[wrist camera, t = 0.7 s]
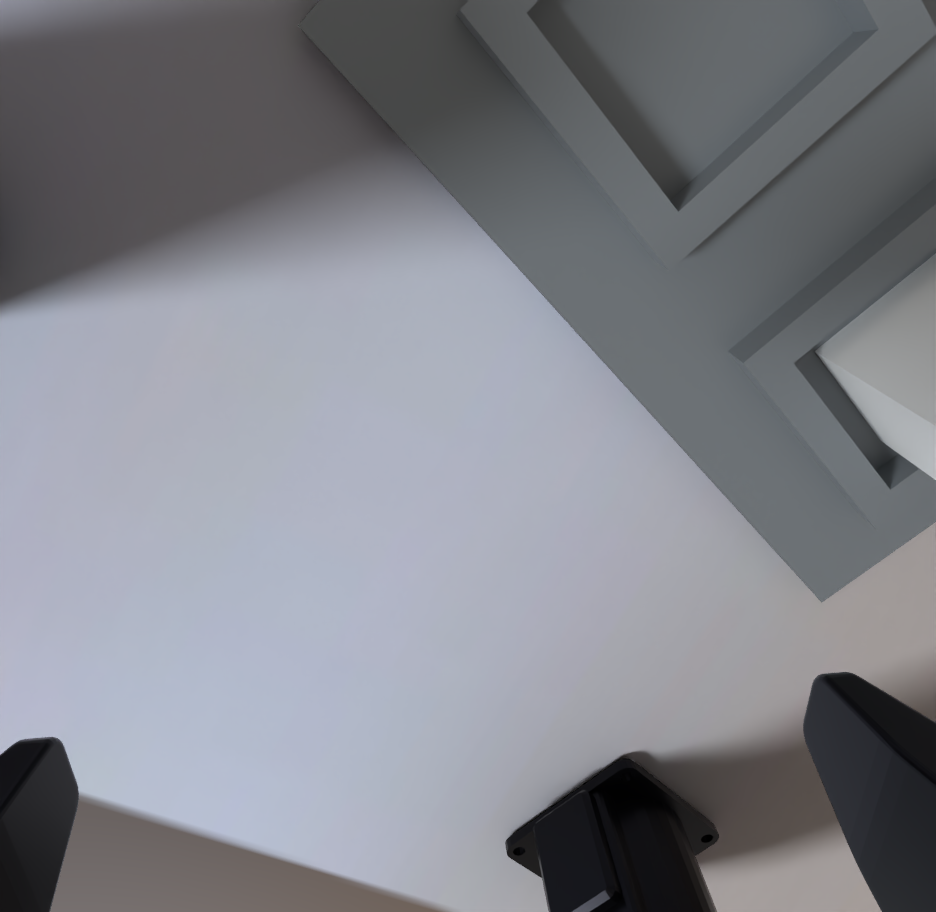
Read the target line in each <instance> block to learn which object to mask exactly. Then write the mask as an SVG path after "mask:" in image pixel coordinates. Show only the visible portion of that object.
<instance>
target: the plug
mask: <svg viewBox="0 0 936 912" xmlns="http://www.w3.org/2000/svg"><path fill="white" fill-rule="evenodd" d="M815 352H816V354H817V355H818V356H819V358H820V359H821V361H822V362H823V363H824V365H825V366H826V367H827V369H828V370H829V371H830V373H831V374H832V375H833V377H834V378H835V379H836V381H837V382H838V383H839V385H840V386H841V388H842V389H843V390H844V392H845V393H846V394H847V396H848V397H849V398H850V400H851V401H852V402H853V404H854V405H855V406H856V408H857V409H858V411H859V412H860V413H861V415H862V416H863V417H864V419H865V420H866V421H867V423H868V424H869V425H870V427H871V428H872V429H873V431H874V432H875V433H876V435H877V436H878V438H879V439H880V440H881V441H882V442H883V443H885V444H886V445H887V446H889V447H890V448H891V449H893V450H894V451H896V452H897V453H898V454H900V455H901V456H903V457H904V458H905V459H907V460H908V461H910V462H911V463H912V464H914V465H915V466H917V467H918V468H919V469H921V470H922V471H924V472H925V473H926V474H928V475H929V476H931V477H932V478H933V479H935V480H936V254H934V255H933V256H932V257H931V258H929V259H928V260H927V261H926V262H924V263H923V264H922V265H921V266H920V267H918V268H917V269H916V270H915V271H913V272H912V273H911V274H910V275H908V276H907V277H906V278H905V279H903V280H902V281H901V282H900V283H898V284H897V285H896V286H895V287H894V288H892V289H891V290H890V291H889V292H887V293H886V294H885V295H884V296H882V297H881V298H880V299H879V300H877V301H876V302H875V303H874V304H872V305H871V306H870V307H869V308H868V309H866V310H865V311H864V312H863V313H861V314H860V315H859V316H858V317H856V318H855V319H854V320H853V321H851V322H850V323H849V324H848V325H846V326H845V327H844V328H843V329H842V330H840V331H839V332H838V333H837V334H835V335H834V336H833V337H832V338H830V339H829V340H828V341H827V342H825V343H824V344H823V345H822V346H820V347H819V348H818V349H817V350H816V351H815Z"/></svg>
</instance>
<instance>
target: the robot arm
mask: <svg viewBox="0 0 936 912" xmlns="http://www.w3.org/2000/svg"><path fill="white" fill-rule="evenodd" d="M803 731H804V737H805V741H806V744H807V747H808V749H809V752H810V754H811V756H812V759H813V761H814V764H815V766H816V768H817V771H818V773H819V775H820V778H821V780H822V783H823V785H824V787H825V790H826V792H827V795H828V797H829V799H830V802H831V804H832V807H833V809H834V811H835V814H836V816H837V819H838V821H839V823H840V826H841V828H842V831H843V833H844V835H845V838H846V840H847V843H848V845H849V847H850V849H851V852H852V854H853V856H854V858H855V860H856V863H857V865H858V867H859V869H860V871H861V873H862V875H863V877H864V879H865V881H866V883H867V885H868V886H869V888H870V890H871V892H872V894H873V896H874V898H875V900H876V901H877V903H878V905H879V907H880V909H881V911H882V912H936V722H934V721H932V720H931V719H929V718H927V717H926V716H924V715H922V714H921V713H919V712H917V711H916V710H914V709H912V708H911V707H909V706H907V705H906V704H904V703H902V702H901V701H899V700H897V699H896V698H894V697H892V696H891V695H889V694H887V693H886V692H884V691H882V690H881V689H879V688H877V687H876V686H874V685H872V684H871V683H869V682H867V681H866V680H864V679H862V678H860V677H859V676H857V675H855V674H853V673H849V672H840V673H828V674H821V675H818V676H817V677H816V678H815V680H814V681H813V684H812V688H811V693H810V697H809V701H808V705H807V710H806V714H805V718H804V724H803ZM78 800H79V792H78V786H77V782H76V779H75V777H74V774H73V771H72V768H71V765H70V762H69V759H68V757H67V754H66V751H65V748H64V746H63V744H62V742H61V741H60V740H59V739H58V738H54V737H45V738H33V739H24V740H20V741H18V742H16V743H15V744H13V745H12V746H11V747H9V748H8V749H7V750H6V751H4V752H3V753H2V754H1V755H0V912H50V909H51V906H52V902H53V898H54V894H55V891H56V887H57V883H58V879H59V875H60V872H61V868H62V864H63V861H64V857H65V852H66V849H67V845H68V841H69V838H70V834H71V830H72V826H73V823H74V819H75V815H76V811H77V807H78ZM718 838H719V834H718V832H717V830H716V827H715V826H714V824H713V823H712V822H710V821H709V820H708V819H707V818H705V817H704V816H703V815H701V814H700V813H699V812H698V811H696V810H695V809H694V808H692V807H691V806H690V805H689V804H687V803H686V802H685V801H684V800H682V799H681V798H680V797H678V796H677V795H676V794H675V793H673V792H672V791H671V790H670V789H668V788H667V787H666V786H664V785H663V784H662V783H661V782H659V781H658V780H657V779H655V778H654V777H653V776H652V775H650V774H649V773H648V772H647V771H645V770H644V769H643V768H641V767H640V766H639V765H638V764H636V763H635V762H634V761H632V760H629V759H623V760H619V761H617V762H615V763H614V764H613V765H611V766H610V767H608V768H607V769H606V770H604V771H603V772H601V773H600V774H598V775H597V776H596V777H594V778H593V779H591V780H590V781H588V782H587V783H586V784H584V785H583V786H581V787H580V788H578V789H577V790H576V791H574V792H573V793H571V794H570V795H568V796H567V797H566V798H564V799H563V800H561V801H560V802H559V803H557V804H556V805H554V806H553V807H551V808H550V809H549V810H547V811H546V812H544V813H543V814H541V815H540V816H539V817H537V818H536V819H534V820H533V821H531V822H530V823H529V824H527V825H526V826H524V827H523V828H521V829H520V830H519V831H517V832H516V833H514V834H513V835H512V836H510V837H509V838H508V839H507V840H506V843H505V844H506V850H507V855H508V856H509V857H510V858H511V859H513V860H514V861H516V862H517V863H519V864H521V865H522V866H524V867H525V868H527V869H528V870H530V871H532V872H533V873H535V874H536V875H538V876H539V877H541V878H542V880H543V885H544V890H545V895H546V900H547V905H548V911H549V912H717V910H716V908H715V905H714V903H713V900H712V898H711V895H710V893H709V890H708V888H707V885H706V882H705V880H704V877H703V875H702V872H701V870H700V867H699V865H698V862H697V860H696V857H695V856H696V855H697V854H699V853H700V852H702V851H703V850H705V849H707V848H708V847H710V846H711V845H713V844H714V843H715V842H717V840H718Z"/></svg>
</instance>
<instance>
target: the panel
mask: <svg viewBox="0 0 936 912" xmlns="http://www.w3.org/2000/svg"><path fill="white" fill-rule="evenodd" d="M298 26H299V27H300V28H301V30H302V31H303V32H304V33H305V34H306V35H307V36H308V37H309V38H310V39H311V41H312V42H313V43H314V44H315V45H316V46H317V47H318V48H319V49H320V50H321V52H322V53H323V54H324V55H325V56H326V57H327V58H328V59H329V60H330V61H331V63H332V64H333V65H334V66H335V67H336V68H337V69H338V70H339V71H340V72H341V74H342V75H343V76H344V77H345V78H346V79H347V80H348V81H349V82H350V84H351V85H352V86H353V87H354V88H355V89H356V90H357V91H358V92H359V93H360V95H361V96H362V97H363V98H364V99H365V100H366V101H367V102H368V103H369V104H370V106H371V107H372V108H373V109H374V110H375V111H376V112H377V113H378V114H379V115H380V117H381V118H382V119H383V120H384V121H385V122H386V123H387V124H388V125H389V126H390V128H391V129H392V130H393V131H394V132H395V133H396V134H397V135H398V136H399V137H400V139H401V140H402V141H403V142H404V143H405V144H406V145H407V146H408V147H409V148H410V150H411V151H412V152H413V153H414V154H415V155H416V156H417V157H418V158H419V159H420V161H421V162H422V163H423V164H424V165H425V166H426V167H427V168H428V169H429V170H430V172H431V173H432V174H433V175H434V176H435V177H436V178H437V179H438V180H439V182H440V183H441V184H442V185H443V186H444V187H445V188H446V189H447V190H448V191H449V193H450V194H451V195H452V196H453V197H454V198H455V199H456V200H457V201H458V202H459V204H460V205H461V206H462V207H463V208H464V209H465V210H466V211H467V212H468V213H469V215H470V216H471V217H472V218H473V219H474V220H475V221H476V222H477V223H478V224H479V226H480V227H481V228H482V229H483V230H484V231H485V232H486V233H487V234H488V235H489V237H490V238H491V239H492V240H493V241H494V242H495V243H496V244H497V245H498V246H499V248H500V249H501V250H502V251H503V252H504V253H505V254H506V255H507V256H508V257H509V259H510V260H511V261H512V262H513V263H514V264H515V265H516V266H517V267H518V268H519V270H520V271H521V272H522V273H523V274H524V275H525V276H526V277H527V278H528V280H529V281H530V282H531V283H532V284H533V285H534V286H535V287H536V288H537V289H538V291H539V292H540V293H541V294H542V295H543V296H544V297H545V298H546V299H547V300H548V302H549V303H550V304H551V305H552V306H553V307H554V308H555V309H556V310H557V311H558V313H559V314H560V315H561V316H562V317H563V318H564V319H565V320H566V321H567V322H568V324H569V325H570V326H571V327H572V328H573V329H574V330H575V331H576V332H577V333H578V335H579V336H580V337H581V338H582V339H583V340H584V341H585V342H586V343H587V344H588V346H589V347H590V348H591V349H592V350H593V351H594V352H595V353H596V354H597V355H598V357H599V358H600V359H601V360H602V361H603V362H604V363H605V364H606V365H607V366H608V368H609V369H610V370H611V371H612V372H613V373H614V374H615V375H616V376H617V378H618V379H619V380H620V381H621V382H622V383H623V384H624V385H625V386H626V387H627V389H628V390H629V391H630V392H631V393H632V394H633V395H634V396H635V397H636V398H637V400H638V401H639V402H640V403H641V404H642V405H643V406H644V407H645V408H646V409H647V411H648V412H649V413H650V414H651V415H652V416H653V417H654V418H655V419H656V420H657V422H658V423H659V424H660V425H661V426H662V427H663V428H664V429H665V430H666V431H667V433H668V434H669V435H670V436H671V437H672V438H673V439H674V440H675V441H676V442H677V444H678V445H679V446H680V447H681V448H682V449H683V450H684V451H685V452H686V453H687V455H688V456H689V457H690V458H691V459H692V460H693V461H694V462H695V463H696V464H697V466H698V467H699V468H700V469H701V470H702V471H703V472H704V473H705V474H706V476H707V477H708V478H709V479H710V480H711V481H712V482H713V483H714V484H715V485H716V487H717V488H718V489H719V490H720V491H721V492H722V493H723V494H724V495H725V496H726V498H727V499H728V500H729V501H730V502H731V503H732V504H733V505H734V506H735V507H736V509H737V510H738V511H739V512H740V513H741V514H742V515H743V516H744V517H745V518H746V520H747V521H748V522H749V523H750V524H751V525H752V526H753V527H754V528H755V529H756V531H757V532H758V533H759V534H760V535H761V536H762V537H763V538H764V539H765V540H766V542H767V543H768V544H769V545H770V546H771V547H772V548H773V549H774V550H775V551H776V553H777V554H778V555H779V556H780V557H781V558H782V559H783V560H784V561H785V562H786V564H787V565H788V566H789V567H790V568H791V569H792V570H793V571H794V572H795V574H796V575H797V576H798V577H799V578H800V579H801V580H802V581H803V582H804V583H805V585H806V586H807V587H808V588H809V589H810V590H811V591H812V592H813V593H814V594H815V596H816V597H817V598H818V599H819V600H820V601H821V602H823V601H825V600H826V599H827V598H829V597H830V596H832V595H833V594H834V593H836V592H837V591H839V590H840V589H841V588H843V587H844V586H846V585H847V584H849V583H850V582H851V581H853V580H854V579H856V578H857V577H858V576H860V575H861V574H863V573H864V572H865V571H867V570H868V569H870V568H871V567H873V566H874V565H875V564H877V563H878V562H880V561H881V560H882V559H884V558H885V557H887V556H888V555H889V554H891V553H892V552H894V551H895V550H897V549H898V548H899V547H901V546H902V545H904V544H905V543H906V542H908V541H909V540H911V539H912V538H913V537H915V536H916V535H918V534H919V533H921V532H922V531H923V530H925V529H926V528H928V527H929V526H930V525H932V524H933V523H935V522H936V480H935V479H933V478H932V477H931V476H929V475H928V474H926V473H925V472H924V471H922V470H921V469H919V468H918V467H917V466H915V465H914V464H912V463H911V462H910V461H908V460H907V459H905V458H904V457H903V456H901V455H900V454H898V453H897V452H896V451H894V450H893V449H891V448H890V447H889V446H887V445H886V444H885V443H883V442H882V441H881V440H880V439H879V438H878V436H877V435H876V433H875V432H874V431H873V429H872V428H871V427H870V425H869V424H868V423H867V421H866V420H865V419H864V417H863V416H862V415H861V413H860V412H859V411H858V409H857V408H856V406H855V405H854V404H853V402H852V401H851V400H850V398H849V397H848V396H847V394H846V393H845V392H844V390H843V389H842V388H841V386H840V385H839V383H838V382H837V381H836V379H835V378H834V377H833V375H832V374H831V373H830V371H829V370H828V369H827V367H826V366H825V365H824V363H823V362H822V361H821V359H820V358H819V356H818V355H817V354H816V352H815V351H816V350H817V349H818V348H819V347H820V346H822V345H823V344H824V343H825V342H827V341H828V340H829V339H830V338H832V337H833V336H834V335H835V334H837V333H838V332H839V331H840V330H842V329H843V328H844V327H845V326H846V325H848V324H849V323H850V322H851V321H853V320H854V319H855V318H856V317H858V316H859V315H860V314H861V313H863V312H864V311H865V310H866V309H868V308H869V307H870V306H871V305H872V304H874V303H875V302H876V301H877V300H879V299H880V298H881V297H882V296H884V295H885V294H886V293H887V292H889V291H890V290H891V289H892V288H894V287H895V286H896V285H897V284H898V283H900V282H901V281H902V280H903V279H905V278H906V277H907V276H908V275H910V274H911V273H912V272H913V271H915V270H916V269H917V268H918V267H920V266H921V265H922V264H923V263H924V262H926V261H927V260H928V259H929V258H931V257H932V256H933V255H934V254H936V0H319V2H318V3H317V4H316V5H315V6H314V7H313V9H312V10H311V11H310V12H309V13H308V14H307V16H306V17H305V18H304V19H303V20H302V21H301V23H300V24H299V25H298Z"/></svg>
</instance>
